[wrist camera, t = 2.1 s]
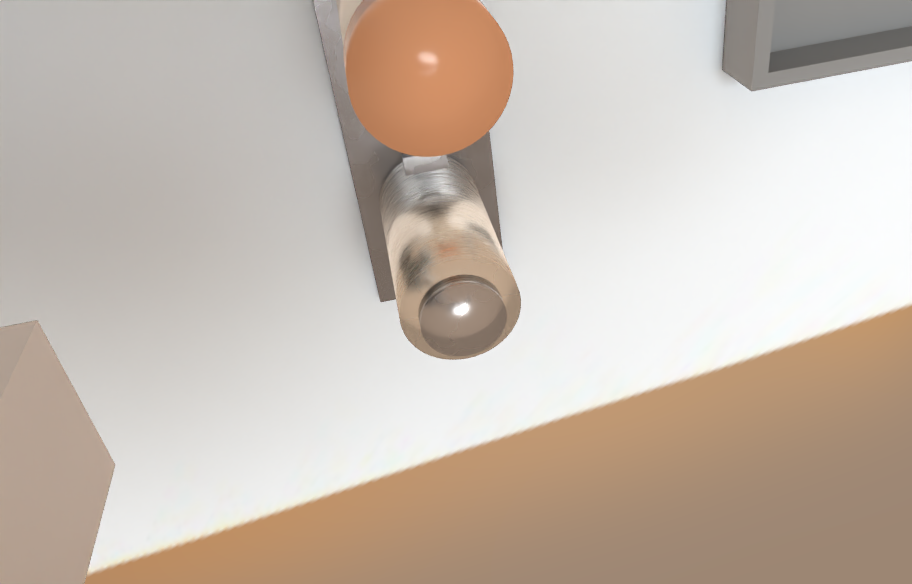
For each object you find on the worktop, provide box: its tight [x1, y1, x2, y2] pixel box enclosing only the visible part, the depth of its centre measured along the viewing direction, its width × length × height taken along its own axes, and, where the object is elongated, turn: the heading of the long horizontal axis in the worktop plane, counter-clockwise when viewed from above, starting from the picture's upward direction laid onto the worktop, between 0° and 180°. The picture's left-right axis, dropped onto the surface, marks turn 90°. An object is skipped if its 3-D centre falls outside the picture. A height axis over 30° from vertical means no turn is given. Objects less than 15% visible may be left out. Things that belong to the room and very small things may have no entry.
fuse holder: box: [313, 0, 521, 360], centre depth 24 cm, size 6×26×9 cm, turn 8°
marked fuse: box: [336, 0, 513, 157], centre depth 24 cm, size 4×4×10 cm
